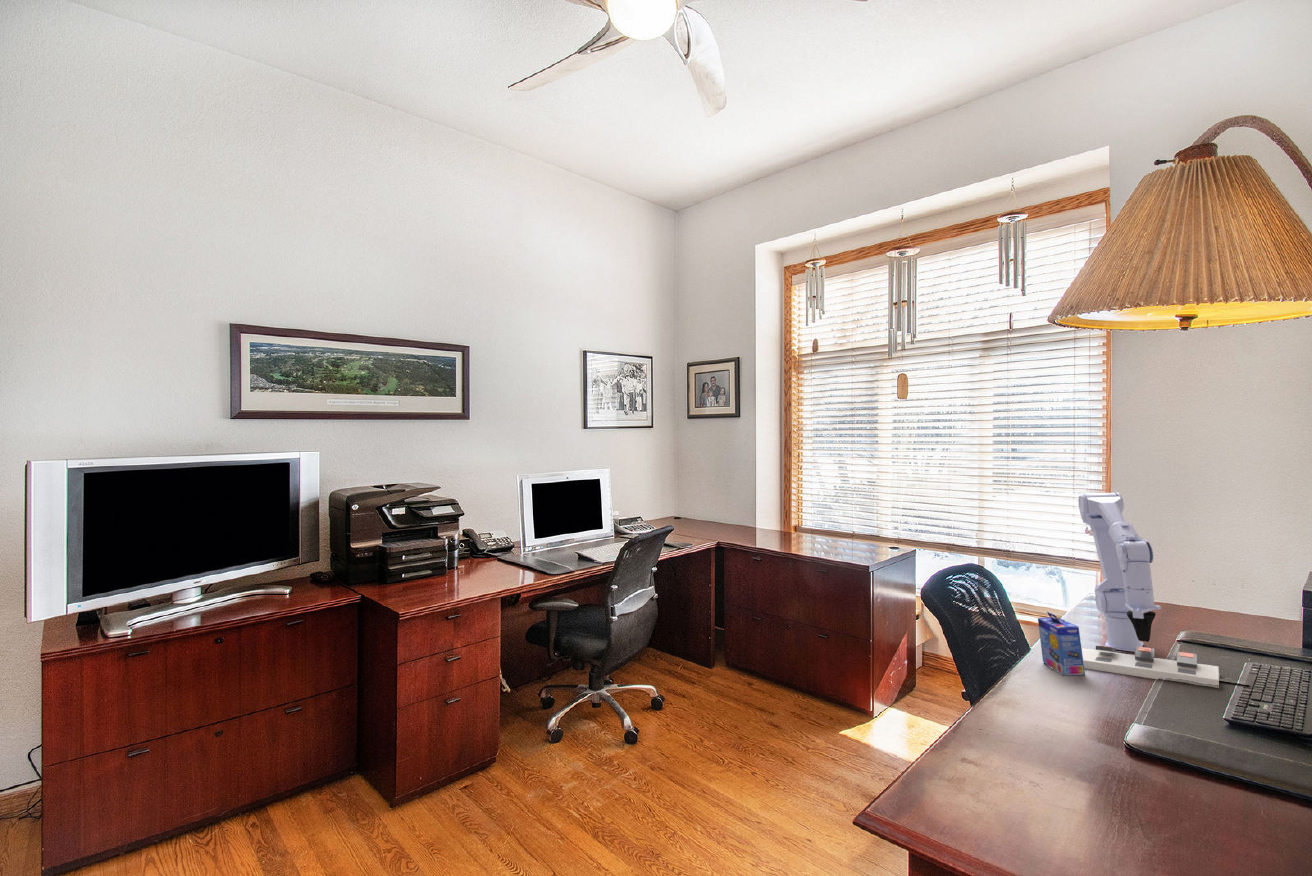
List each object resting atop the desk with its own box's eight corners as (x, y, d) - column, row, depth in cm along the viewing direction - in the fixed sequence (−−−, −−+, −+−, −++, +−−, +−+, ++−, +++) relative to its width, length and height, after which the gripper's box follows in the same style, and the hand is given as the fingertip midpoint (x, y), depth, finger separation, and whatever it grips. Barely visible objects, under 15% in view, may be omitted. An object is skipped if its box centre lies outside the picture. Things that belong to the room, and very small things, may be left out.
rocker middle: (1136, 649, 152) (1136, 645, 152) (1154, 652, 149) (1154, 648, 149) (1135, 659, 148) (1134, 656, 148) (1153, 662, 146) (1153, 658, 146)
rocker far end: (1099, 649, 157) (1098, 645, 158) (1115, 651, 155) (1115, 647, 155) (1095, 649, 154) (1095, 645, 154) (1113, 651, 151) (1112, 647, 152)
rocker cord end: (1177, 655, 146) (1176, 651, 146) (1196, 657, 144) (1196, 653, 144) (1177, 665, 143) (1176, 661, 143) (1197, 668, 140) (1196, 664, 140)
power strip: (1083, 655, 160) (1082, 647, 160) (1248, 678, 138) (1247, 669, 138) (1076, 667, 152) (1075, 658, 152) (1250, 693, 130) (1249, 684, 130)
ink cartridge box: (1040, 663, 157) (1035, 608, 157) (1062, 662, 156) (1057, 608, 157) (1062, 676, 147) (1056, 618, 148) (1086, 675, 146) (1080, 617, 147)
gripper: (1156, 594, 143) (1162, 650, 142) (1160, 583, 154) (1166, 636, 153) (1120, 591, 148) (1125, 646, 147) (1126, 581, 158) (1131, 632, 158)
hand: (1144, 640), depth 150 cm, fingers closed
